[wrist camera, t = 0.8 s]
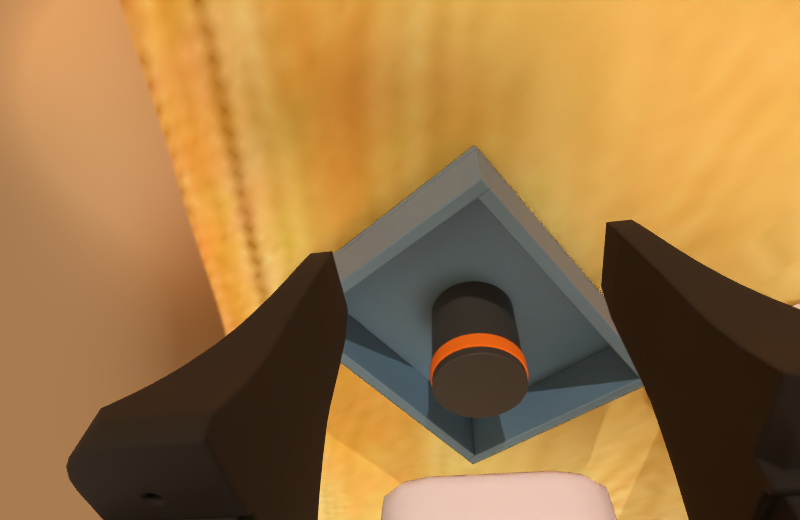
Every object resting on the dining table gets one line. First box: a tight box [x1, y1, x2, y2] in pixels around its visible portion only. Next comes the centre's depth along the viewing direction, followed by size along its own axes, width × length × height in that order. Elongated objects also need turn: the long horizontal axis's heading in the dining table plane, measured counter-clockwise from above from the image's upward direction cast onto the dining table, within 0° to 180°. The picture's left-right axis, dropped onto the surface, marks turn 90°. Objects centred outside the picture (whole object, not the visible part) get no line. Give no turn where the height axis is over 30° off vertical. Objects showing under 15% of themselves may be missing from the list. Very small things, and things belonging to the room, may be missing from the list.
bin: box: [333, 145, 644, 464], centre depth 26 cm, size 14×11×3 cm
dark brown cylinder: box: [430, 281, 528, 418], centre depth 25 cm, size 4×4×5 cm
